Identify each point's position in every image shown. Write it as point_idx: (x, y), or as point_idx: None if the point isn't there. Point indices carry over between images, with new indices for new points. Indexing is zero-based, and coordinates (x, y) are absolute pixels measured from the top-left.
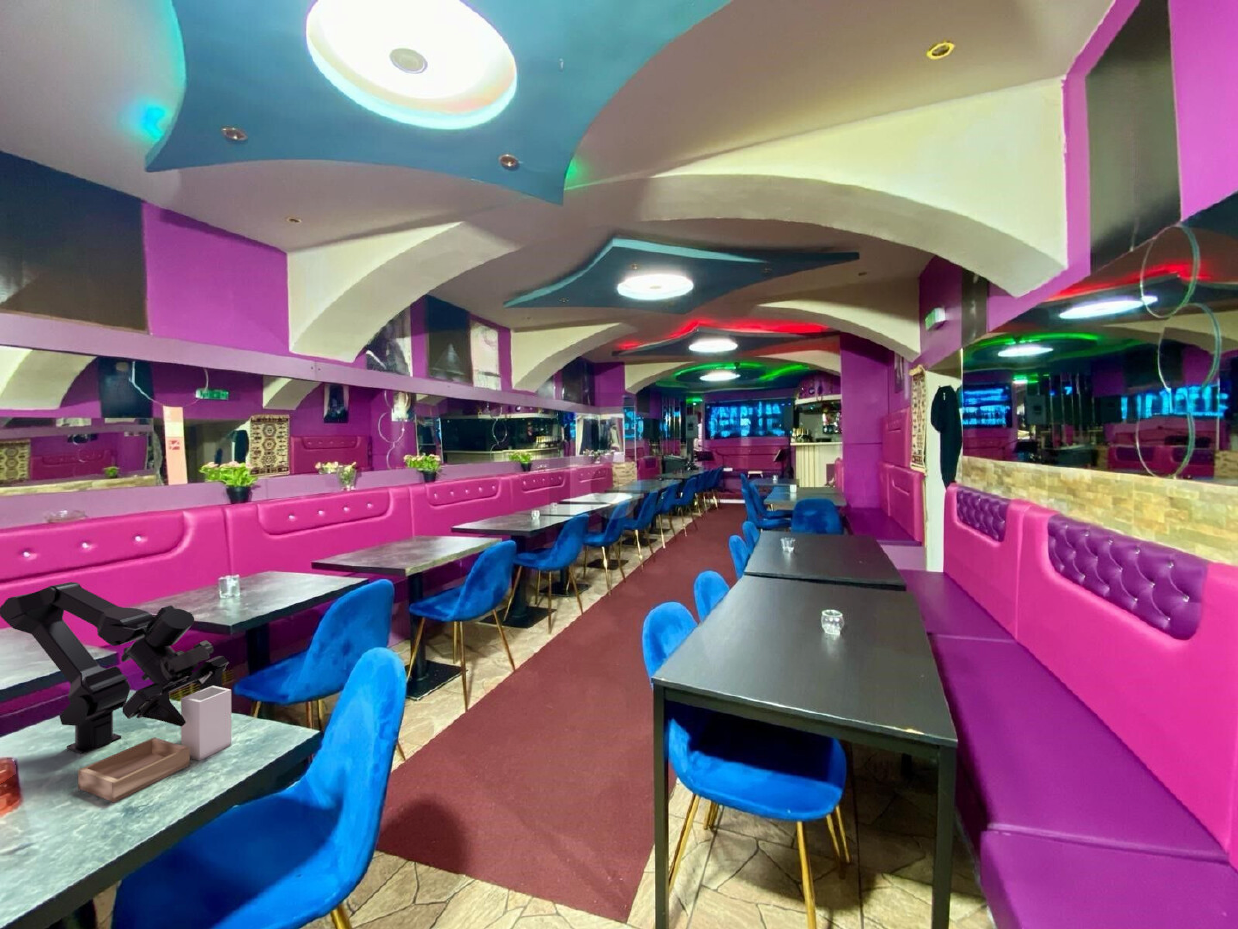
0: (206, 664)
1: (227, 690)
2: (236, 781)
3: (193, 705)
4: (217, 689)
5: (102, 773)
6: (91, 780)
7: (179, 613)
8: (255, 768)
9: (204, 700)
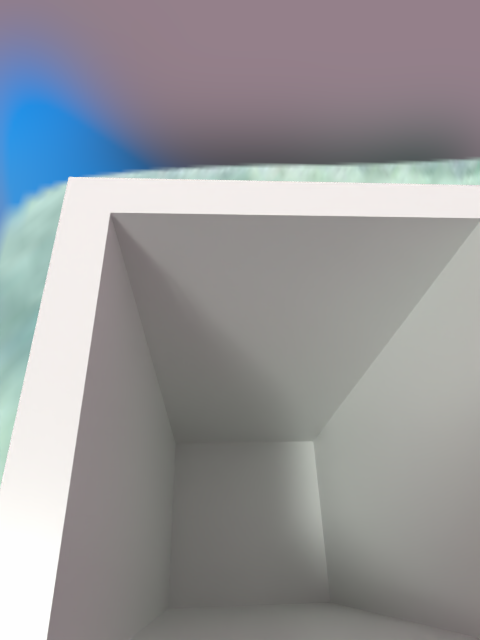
0: None
1: (105, 197)
2: (323, 168)
3: None
4: (79, 454)
5: None
6: None
7: None
8: (248, 177)
9: (447, 188)
